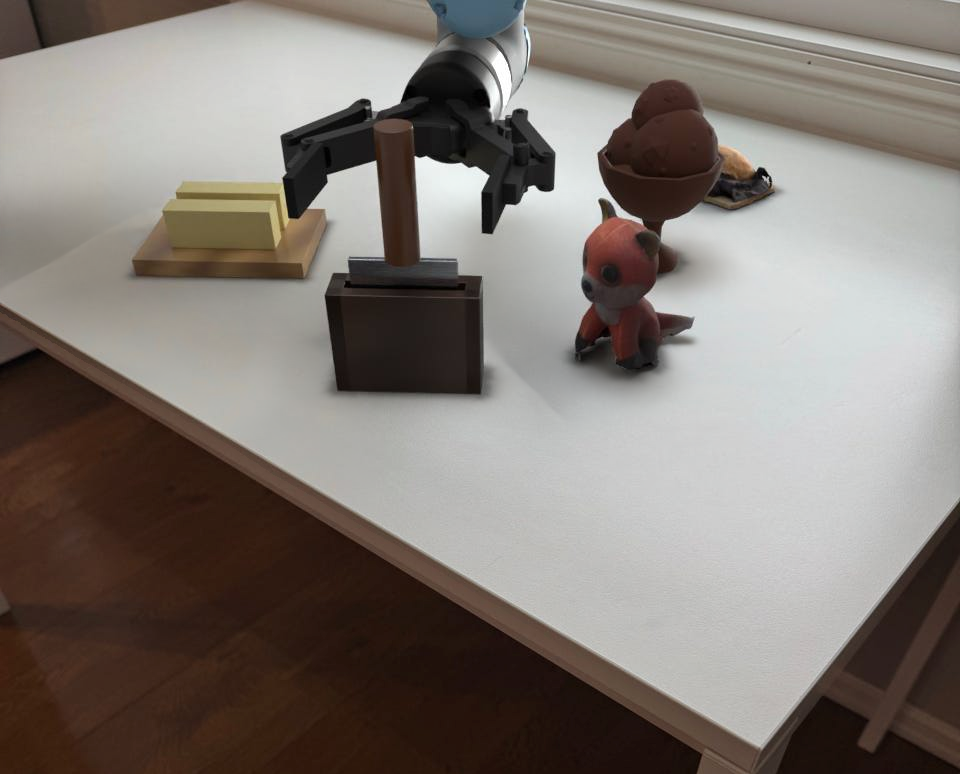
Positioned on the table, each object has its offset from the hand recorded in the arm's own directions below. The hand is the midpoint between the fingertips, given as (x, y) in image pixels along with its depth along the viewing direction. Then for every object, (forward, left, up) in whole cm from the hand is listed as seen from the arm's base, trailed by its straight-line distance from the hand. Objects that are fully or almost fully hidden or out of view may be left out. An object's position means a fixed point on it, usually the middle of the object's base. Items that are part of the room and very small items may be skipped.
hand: (387, 206), depth 65 cm
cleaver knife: (0, +3, -15) cm, 15 cm away
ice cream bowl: (+20, +25, -15) cm, 36 cm away
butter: (-20, +26, -13) cm, 35 cm away
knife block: (0, +3, -15) cm, 15 cm away
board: (-20, +26, -15) cm, 36 cm away
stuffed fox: (+18, +8, -15) cm, 25 cm away
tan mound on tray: (+28, +43, -15) cm, 54 cm away
